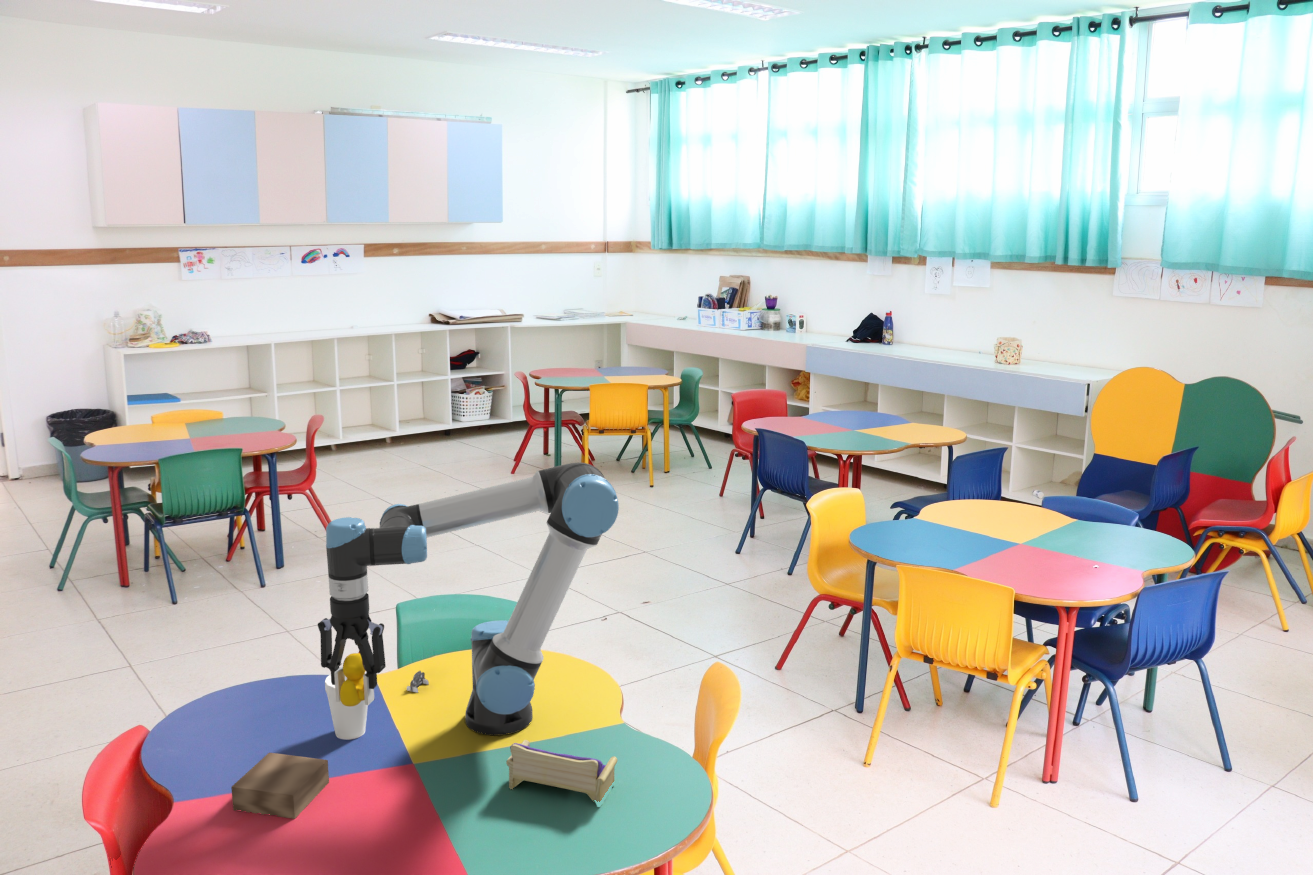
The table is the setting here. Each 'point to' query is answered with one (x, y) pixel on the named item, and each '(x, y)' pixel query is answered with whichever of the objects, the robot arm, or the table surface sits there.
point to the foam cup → (346, 715)
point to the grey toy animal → (417, 682)
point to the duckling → (353, 680)
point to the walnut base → (280, 785)
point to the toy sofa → (560, 770)
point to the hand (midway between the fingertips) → (355, 700)
